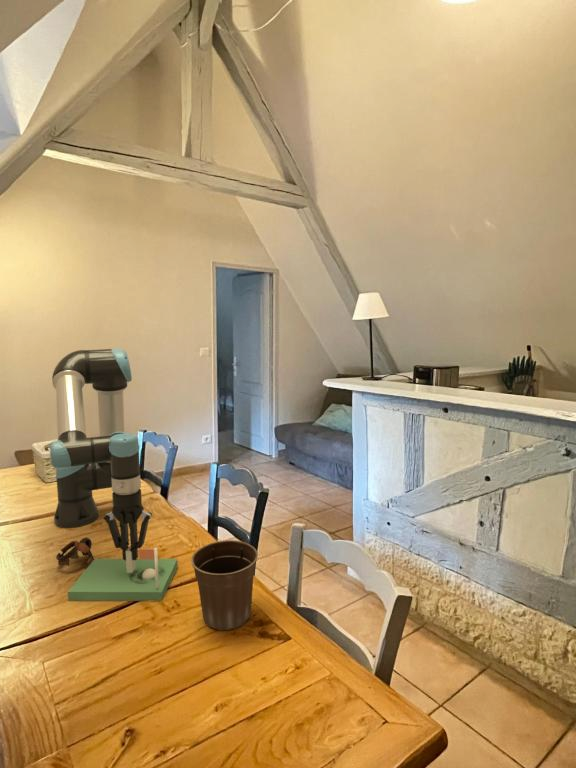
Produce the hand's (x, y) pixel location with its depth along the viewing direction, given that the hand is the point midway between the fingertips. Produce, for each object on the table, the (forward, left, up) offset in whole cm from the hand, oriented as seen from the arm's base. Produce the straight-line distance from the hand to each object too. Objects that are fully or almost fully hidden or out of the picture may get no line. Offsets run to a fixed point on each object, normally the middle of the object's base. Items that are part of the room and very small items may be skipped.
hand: (131, 570), depth 130 cm
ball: (0, +5, -2) cm, 5 cm away
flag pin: (+7, +7, -4) cm, 11 cm away
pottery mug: (-11, -20, -4) cm, 23 cm away
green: (0, -2, -4) cm, 4 cm away
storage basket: (-92, -68, -4) cm, 114 cm away
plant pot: (+14, +29, -4) cm, 33 cm away
